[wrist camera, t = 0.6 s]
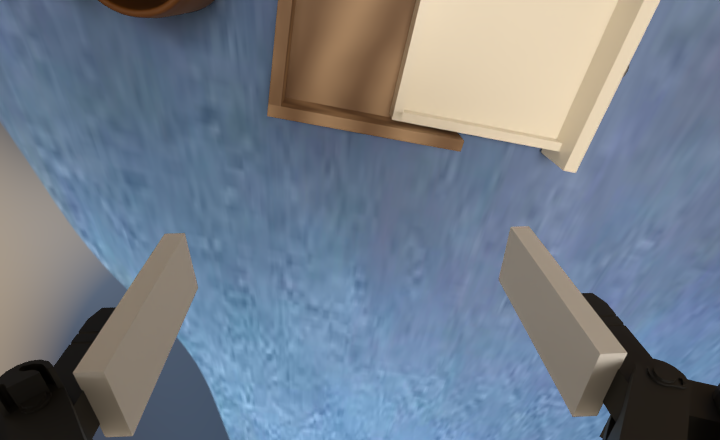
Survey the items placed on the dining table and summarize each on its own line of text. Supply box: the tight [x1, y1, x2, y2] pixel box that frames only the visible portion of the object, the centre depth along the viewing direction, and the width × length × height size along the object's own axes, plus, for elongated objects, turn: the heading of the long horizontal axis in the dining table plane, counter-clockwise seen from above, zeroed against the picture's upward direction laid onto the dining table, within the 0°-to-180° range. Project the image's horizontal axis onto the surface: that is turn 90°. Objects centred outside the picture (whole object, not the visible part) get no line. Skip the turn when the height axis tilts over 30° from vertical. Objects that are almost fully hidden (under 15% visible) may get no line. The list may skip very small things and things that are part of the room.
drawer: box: [389, 0, 660, 173], centre depth 34 cm, size 18×18×5 cm
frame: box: [267, 0, 464, 152], centre depth 33 cm, size 17×18×4 cm
